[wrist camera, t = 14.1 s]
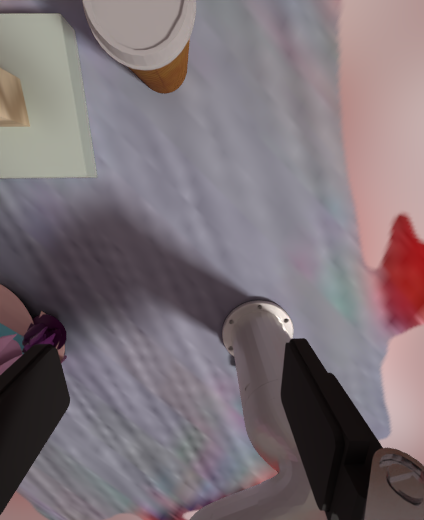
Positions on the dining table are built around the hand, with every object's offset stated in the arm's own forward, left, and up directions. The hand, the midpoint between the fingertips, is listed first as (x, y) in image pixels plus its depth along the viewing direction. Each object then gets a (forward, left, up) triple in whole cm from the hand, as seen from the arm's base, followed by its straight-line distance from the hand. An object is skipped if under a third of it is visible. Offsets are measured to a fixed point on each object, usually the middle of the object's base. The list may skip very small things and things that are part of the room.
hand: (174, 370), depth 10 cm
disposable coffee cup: (+22, +4, -28) cm, 36 cm away
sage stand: (+17, +23, -28) cm, 40 cm away
